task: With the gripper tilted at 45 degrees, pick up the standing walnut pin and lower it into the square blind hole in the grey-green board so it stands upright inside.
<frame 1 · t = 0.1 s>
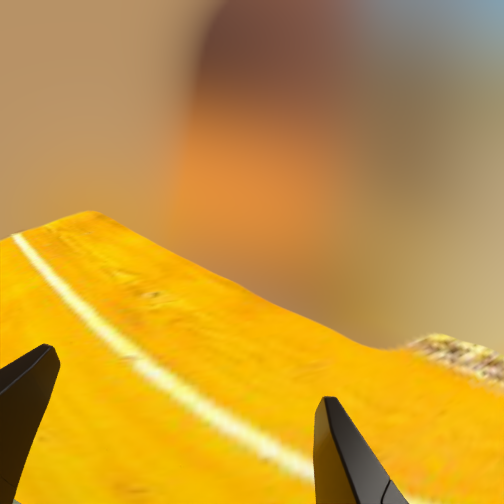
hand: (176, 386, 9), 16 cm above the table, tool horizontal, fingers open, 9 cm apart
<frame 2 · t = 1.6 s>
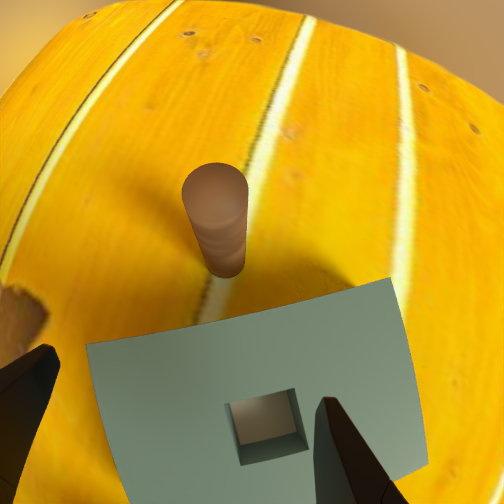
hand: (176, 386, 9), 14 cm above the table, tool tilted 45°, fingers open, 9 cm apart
board: (261, 412, 21), on the table
pin: (225, 259, 24), on the table
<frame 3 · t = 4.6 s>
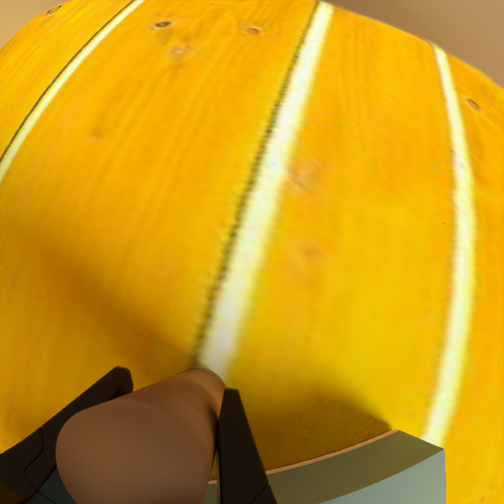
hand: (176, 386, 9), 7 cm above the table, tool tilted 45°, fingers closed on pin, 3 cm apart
pin: (198, 396, 15), on the table, touching gripper
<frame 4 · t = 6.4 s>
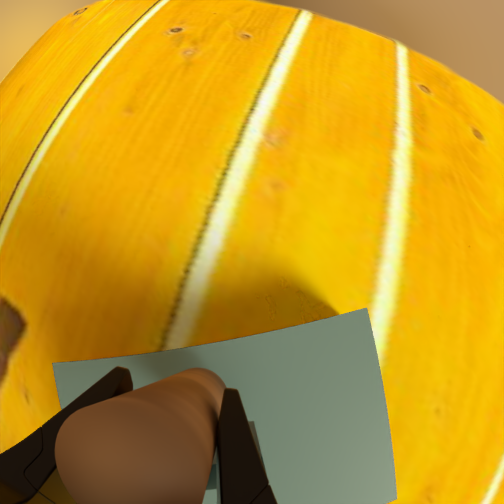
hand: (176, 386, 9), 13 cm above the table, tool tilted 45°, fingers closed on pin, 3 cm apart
board: (228, 434, 20), on the table
pin: (198, 395, 15), point 6 cm above the table, touching gripper
when the fingers open (8 cm above the table, at t = 8.4 s): pin stays where it is, resting on board.
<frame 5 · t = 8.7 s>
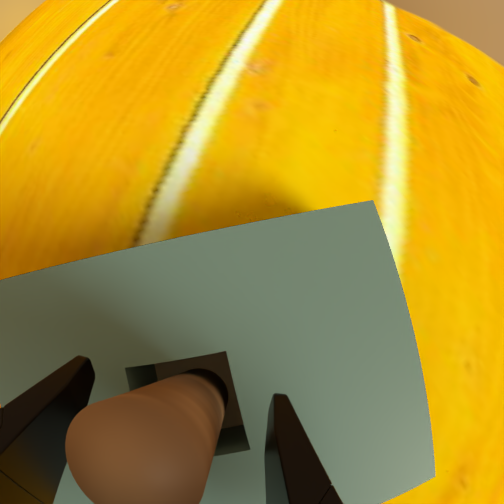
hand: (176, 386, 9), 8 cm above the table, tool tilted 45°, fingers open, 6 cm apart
board: (201, 393, 16), on the table
pin: (199, 395, 15), point 1 cm above the table, touching board
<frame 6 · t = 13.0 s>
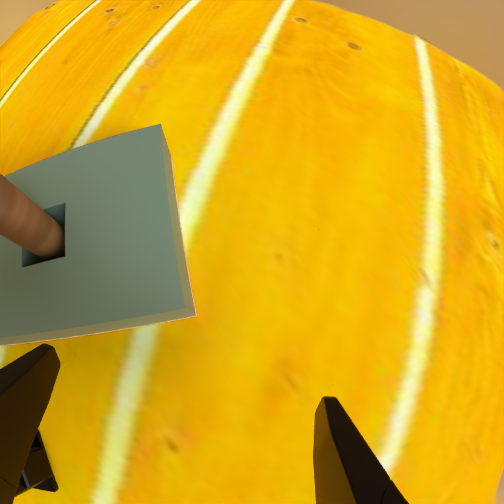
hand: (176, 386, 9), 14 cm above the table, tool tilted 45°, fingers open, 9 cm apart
board: (72, 254, 24), on the table
pin: (70, 253, 23), point 1 cm above the table, touching board
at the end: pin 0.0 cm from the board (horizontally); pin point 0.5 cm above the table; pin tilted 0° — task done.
